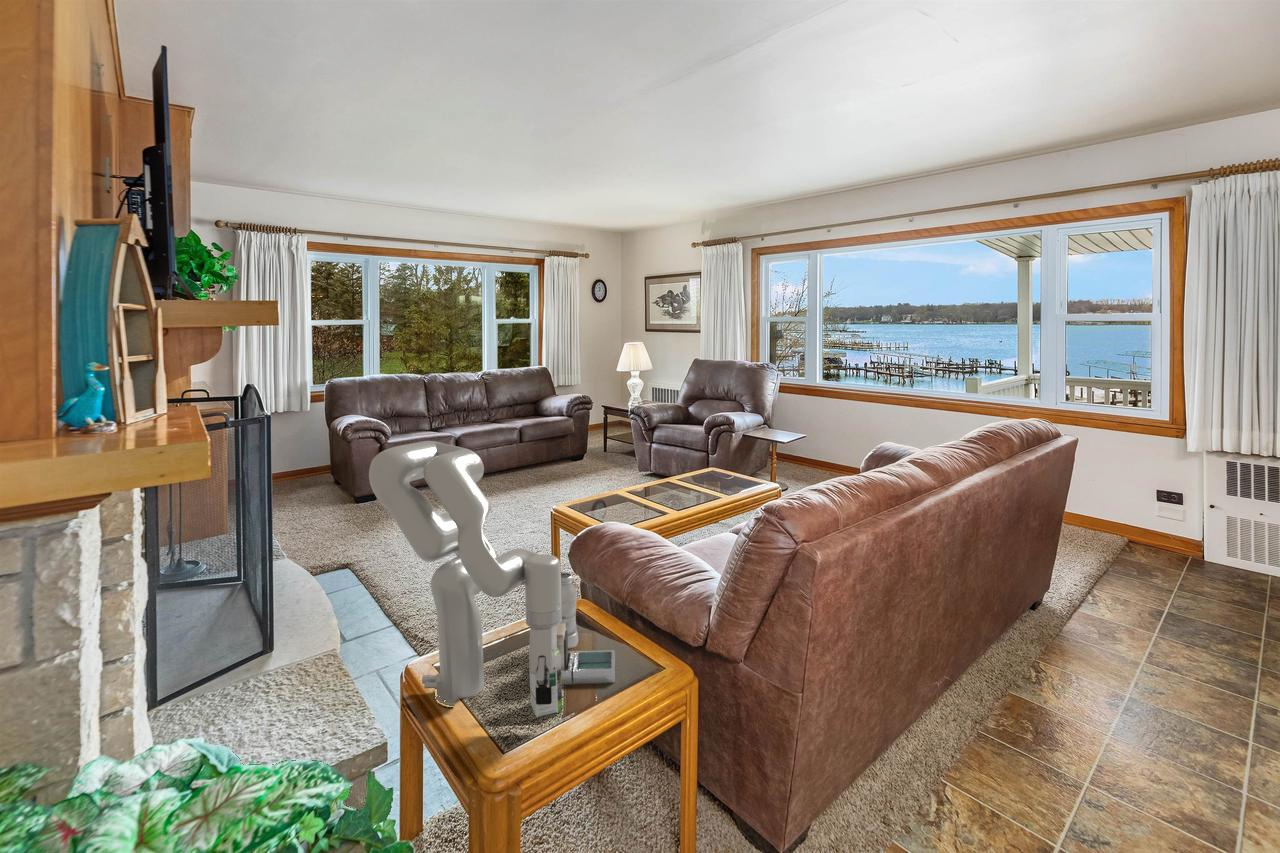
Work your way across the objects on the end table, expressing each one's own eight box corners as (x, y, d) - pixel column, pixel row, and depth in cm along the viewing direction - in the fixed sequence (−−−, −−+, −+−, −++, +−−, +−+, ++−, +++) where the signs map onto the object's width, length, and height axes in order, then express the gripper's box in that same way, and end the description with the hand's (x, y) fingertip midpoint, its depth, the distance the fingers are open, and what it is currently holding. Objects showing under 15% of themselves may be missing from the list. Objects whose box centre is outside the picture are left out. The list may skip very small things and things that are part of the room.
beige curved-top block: (538, 680, 143) (537, 635, 141) (541, 667, 149) (540, 624, 147) (566, 679, 143) (565, 634, 142) (568, 666, 149) (567, 623, 148)
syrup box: (536, 724, 128) (534, 659, 127) (530, 709, 134) (528, 646, 132) (562, 718, 130) (561, 653, 129) (555, 703, 136) (554, 641, 134)
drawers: (528, 691, 141) (528, 672, 140) (534, 669, 151) (534, 651, 150) (615, 688, 142) (615, 670, 141) (615, 666, 152) (615, 649, 151)
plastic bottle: (580, 643, 164) (579, 571, 162) (575, 655, 157) (574, 580, 155) (557, 642, 165) (555, 570, 162) (551, 654, 158) (549, 579, 155)
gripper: (531, 598, 138) (533, 672, 140) (519, 633, 121) (522, 717, 123) (565, 597, 138) (566, 671, 140) (557, 632, 121) (559, 716, 123)
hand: (545, 692), depth 131 cm, fingers closed on syrup box, 7 cm apart
